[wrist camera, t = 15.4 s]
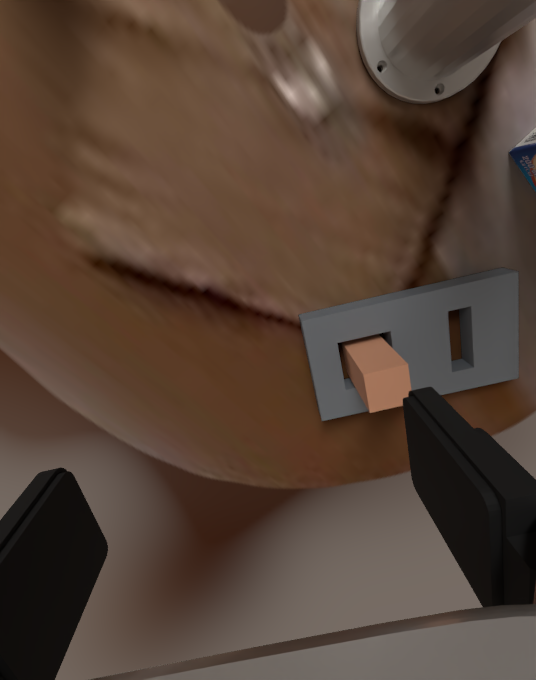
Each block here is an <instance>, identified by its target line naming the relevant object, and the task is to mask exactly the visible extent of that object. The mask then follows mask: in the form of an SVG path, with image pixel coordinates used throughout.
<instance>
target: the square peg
mask: <svg viewBox="0 0 536 680" xmlns="http://www.w3.org/2000/svg"><path fill="white" fill-rule="evenodd" d="M341 344H342V350H343V355H344V360H345V365H346V371H347V374H348V375H349V377H350V379H351V381H352V382H353V384H354V386H355V388H356V389H357V391H358V393H359V395H360V396H361V398H362V400H363V402H364V403H365V405H366V407H367V409H368V410H369V412H370V413H372V412H377V411H381V410H385V409H390V408H394V407H398V406H403V398H405V397H408V394H409V391H411V383H410V375H409V367H408V363H407V362H406V361H405V360H404V359H403V358H402V357H401V356H400V355H399V354H398V353H397V352H396V351H395V350H394V349H393V348H392V347H391V346H390V345H389V344H388V343H387V342H386V341H385V340H384V339H383V338H382V337H381V336H380V335H379V334H375V335H371V336H366V337H362V338H358V339H353V340H349V341H344V342H341Z"/></svg>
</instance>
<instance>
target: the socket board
mask: <svg viewBox="0 0 536 680" xmlns="http://www.w3.org/2000/svg"><path fill="white" fill-rule="evenodd" d="M457 309H459V316H460V333H461V350H462V359H458V360H454V361H451V350H450V335H449V321H448V311H452V310H457ZM299 319H300V324H301V329H302V334H303V338H304V343H305V348H306V353H307V357H308V362H309V367H310V372H311V377H312V381H313V386H314V391H315V396H316V400H317V405H318V410H319V413H320V416H321V419H322V421H325V420H330V419H334V418H339V417H343V416H348V415H353V414H357V413H362V412H366V411H369V410H368V409H367V407H366V405H365V403H364V402H363V400H362V398H361V396H360V395H359V393H358V391H357V389H356V388H355V386H354V384H353V382H352V381H351V379H350V378H348V379H344V377H343V372H342V366H341V360H340V355H339V349H338V344H337V343H340V342H344V341H349V340H353V339H358V338H362V337H366V336H371V335H375V334H380V333H384V337H385V341H386V342H387V343H388V344H389V345H390V346H391V347H392V348H393V349H394V350H395V351H396V352H397V353H398V354H399V355H400V356H401V357H402V358H403V359H404V360H405V361H406V362H407V363H408V367H409V375H410V383H411V391H412V390H416V389H421V388H425V387H432V388H434V389H435V390H436V391H437V392H438V393H439V394H440V395H444V394H449V393H453V392H458V391H462V390H467V389H471V388H476V387H481V386H485V385H490V384H494V383H499V382H503V381H508V380H513V379H517V378H519V285H518V271H515V270H511V269H507V268H498V269H494V270H490V271H485V272H481V273H477V274H472V275H468V276H464V277H459V278H455V279H451V280H446V281H442V282H438V283H433V284H429V285H425V286H420V287H416V288H412V289H407V290H403V291H399V292H394V293H390V294H386V295H381V296H377V297H373V298H368V299H364V300H360V301H355V302H351V303H347V304H342V305H338V306H334V307H329V308H325V309H321V310H316V311H312V312H308V313H303V314H299Z"/></svg>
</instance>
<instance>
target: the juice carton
mask: <svg viewBox="0 0 536 680" xmlns="http://www.w3.org/2000/svg"><path fill="white" fill-rule="evenodd" d="M509 154H510V156H511V157H512V159H513V160H514V162H515V163H516V165H517V166H518V167H519V169H520V170H521V172H522V173H523V175H524V176H525V178H526V179H527V181H528V182H529V184H530V185H531V186H532V188H533V189H534V191H535V192H536V128H535V129H533V130H532V131H531V132H530V133H529V134H528V135H527V136H526V137H525V138H524V139H523V140H522V141H521V142H519V143H518V144H517V145H516V146H515V147H514V148H513V149H512V150H511V151H510V152H509Z"/></svg>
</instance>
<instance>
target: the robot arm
mask: <svg viewBox="0 0 536 680" xmlns="http://www.w3.org/2000/svg"><path fill="white" fill-rule="evenodd" d="M535 18H536V0H359V3H358V8H357V22H356V31H357V39H358V46H359V50H360V53H361V57H362V60H363V62H364V64H365V66H366V68H367V70H368V72H369V74H370V76H371V77H372V78H373V79H374V81H375V82H376V83H377V85H378V86H379V87H381V88H382V89H383V90H384V91H385V92H386V93H388V94H389V95H391V96H393V97H395V98H397V99H399V100H401V101H405V102H409V103H413V104H427V103H433V102H438V101H441V100H443V99H445V98H448V97H450V96H452V95H454V94H456V93H457V92H459V91H461V90H463V89H464V88H465V87H466V86H468V85H469V84H470V83H472V82H473V81H474V80H475V79H476V78H477V77H478V76H479V75H480V74H481V73H482V71H483V70H484V69H485V68H486V67H487V65H488V64H489V62H490V61H491V59H492V58H493V56H494V55H495V53H496V51H497V49H498V47H499V45H500V42H501V41H502V40H503V39H505V38H506V37H508V36H509V35H511V34H512V33H514V32H515V31H517V30H518V29H520V28H521V27H523V26H524V25H526V24H527V23H529V22H530V21H532V20H533V19H535ZM377 67H380V68H381V72H379V71H378V70H377ZM435 89H436V90H437V94H436V93H435ZM403 410H404V418H405V426H406V434H407V443H408V451H409V459H410V467H411V476H412V480H413V484H414V487H415V489H416V491H417V493H418V495H419V497H420V498H421V500H422V502H423V504H424V505H425V507H426V509H427V511H428V512H429V514H430V516H431V518H432V519H433V521H434V523H435V524H436V526H437V528H438V530H439V531H440V533H441V535H442V537H443V538H444V540H445V542H446V543H447V545H448V547H449V549H450V551H451V552H452V554H453V556H454V557H455V559H456V561H457V563H458V565H459V566H460V568H461V570H462V571H463V573H464V575H465V577H466V578H467V580H468V582H469V584H470V585H471V587H472V588H473V591H474V592H475V594H476V596H477V598H478V599H479V601H480V603H481V605H482V606H483V607H482V608H475V609H465V610H458V611H451V612H445V613H439V614H434V615H428V616H422V617H416V618H411V619H404V620H398V621H392V622H386V623H381V624H375V625H369V626H364V627H359V628H354V629H348V630H343V631H338V632H332V633H327V634H322V635H317V636H311V637H306V638H301V639H295V640H290V641H285V642H279V643H274V644H269V645H263V646H258V647H253V648H248V649H243V650H237V651H233V652H227V653H222V654H217V655H212V656H207V657H202V658H196V659H191V660H186V661H181V662H176V663H171V664H166V665H161V666H155V667H151V668H145V669H140V670H135V671H130V672H125V673H120V674H115V675H110V676H105V677H100V678H95V679H90V680H536V480H535V479H534V478H533V477H532V476H531V475H530V474H529V473H528V472H527V471H526V470H525V469H524V468H523V467H522V466H521V465H520V464H519V463H518V462H517V461H516V460H515V459H514V458H513V457H512V456H511V455H510V454H508V453H507V452H506V451H505V450H504V449H503V448H502V447H501V446H500V445H499V444H498V443H497V442H496V441H495V440H494V439H493V438H492V437H491V436H490V435H489V434H488V433H487V432H485V431H484V430H483V429H481V428H475V429H473V428H472V427H471V426H470V425H469V424H468V423H467V422H466V421H465V420H464V419H463V418H462V417H461V416H460V415H459V414H458V413H457V412H456V410H455V409H454V408H453V407H452V406H451V405H450V404H449V403H448V402H447V401H446V400H445V399H444V398H443V397H442V396H441V395H440V394H439V393H438V392H437V391H436V390H435V389H434V388H432V387H425V388H421V389H416V390H412V391H409V394H408V397H405V398H403ZM107 551H108V545H107V542H106V539H105V537H104V535H103V533H102V532H101V529H100V527H99V525H98V523H97V521H96V519H95V517H94V515H93V513H92V511H91V509H90V507H89V505H88V503H87V501H86V499H85V498H84V495H83V493H82V491H81V489H80V487H79V485H78V483H77V481H76V479H75V477H74V475H73V474H72V473H71V472H67V471H66V470H65V469H64V468H58V469H53V470H48V471H44V472H40V473H39V474H38V475H37V476H36V477H35V478H34V479H33V481H32V482H31V483H30V484H29V485H28V487H27V488H26V489H25V490H24V492H23V493H22V494H21V496H20V497H19V498H18V499H17V500H16V501H15V503H14V504H13V505H12V506H11V508H10V509H9V510H8V511H7V513H6V514H5V515H4V516H3V518H2V519H1V520H0V680H55V678H56V675H57V673H58V670H59V668H60V666H61V663H62V661H63V659H64V656H65V654H66V652H67V649H68V647H69V644H70V642H71V640H72V637H73V635H74V632H75V630H76V628H77V625H78V623H79V621H80V618H81V616H82V613H83V611H84V609H85V606H86V604H87V602H88V599H89V597H90V594H91V592H92V589H93V587H94V585H95V583H96V580H97V578H98V575H99V573H100V570H101V568H102V566H103V564H104V561H105V559H106V556H107Z"/></svg>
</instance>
